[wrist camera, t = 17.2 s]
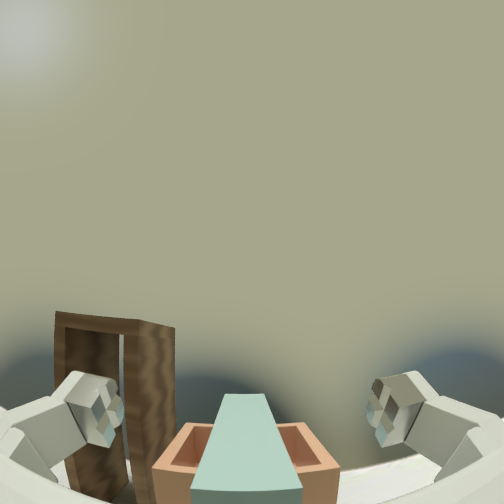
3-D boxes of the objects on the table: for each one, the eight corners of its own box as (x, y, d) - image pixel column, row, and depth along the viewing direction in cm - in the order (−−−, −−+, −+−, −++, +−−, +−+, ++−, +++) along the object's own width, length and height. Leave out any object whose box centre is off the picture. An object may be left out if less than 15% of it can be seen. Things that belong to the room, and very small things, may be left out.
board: (299, 527, 7) (302, 487, 8) (194, 527, 7) (189, 488, 8) (263, 413, 29) (263, 393, 30) (225, 413, 29) (225, 393, 30)
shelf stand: (158, 541, 16) (139, 319, 24) (79, 517, 15) (55, 311, 23) (181, 490, 29) (175, 327, 37) (120, 479, 29) (111, 323, 37)
